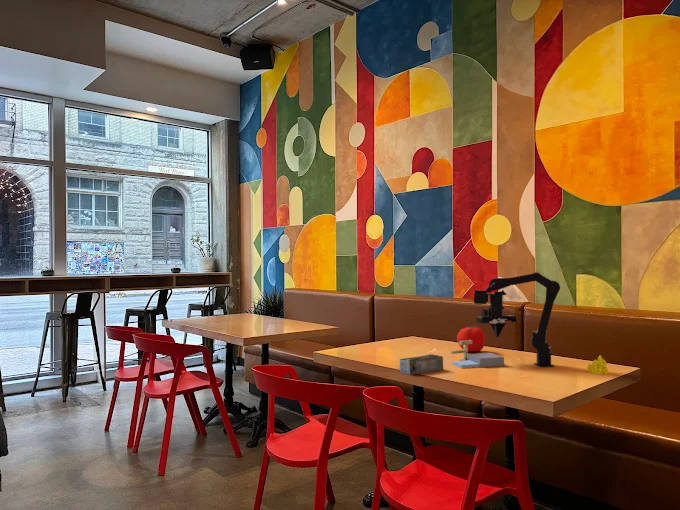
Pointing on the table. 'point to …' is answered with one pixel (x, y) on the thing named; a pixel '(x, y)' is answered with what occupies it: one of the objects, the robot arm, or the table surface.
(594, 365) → the yellow crystal cluster
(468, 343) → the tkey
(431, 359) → the beverage carton
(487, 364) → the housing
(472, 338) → the tomato
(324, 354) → the table surface
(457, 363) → the cover
